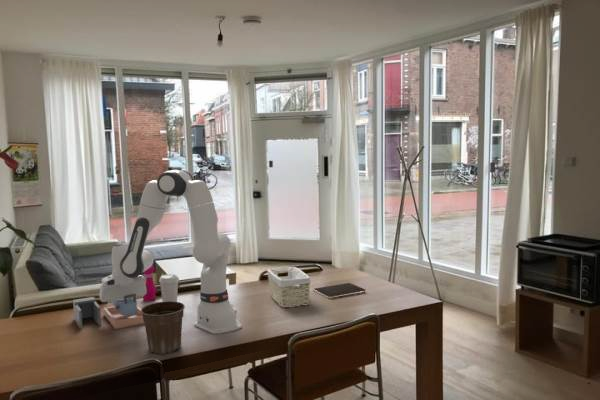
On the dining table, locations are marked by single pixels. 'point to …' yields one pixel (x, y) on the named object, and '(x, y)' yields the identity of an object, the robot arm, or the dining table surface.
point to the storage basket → (289, 286)
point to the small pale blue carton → (127, 306)
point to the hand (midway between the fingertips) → (124, 307)
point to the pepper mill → (149, 285)
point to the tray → (123, 318)
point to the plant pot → (163, 326)
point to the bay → (86, 310)
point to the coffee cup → (169, 287)
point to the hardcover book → (339, 289)
